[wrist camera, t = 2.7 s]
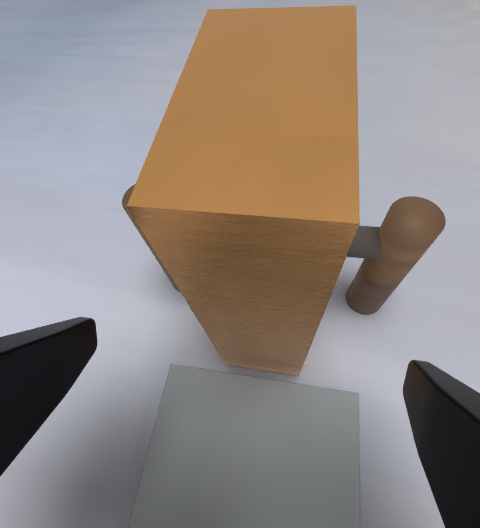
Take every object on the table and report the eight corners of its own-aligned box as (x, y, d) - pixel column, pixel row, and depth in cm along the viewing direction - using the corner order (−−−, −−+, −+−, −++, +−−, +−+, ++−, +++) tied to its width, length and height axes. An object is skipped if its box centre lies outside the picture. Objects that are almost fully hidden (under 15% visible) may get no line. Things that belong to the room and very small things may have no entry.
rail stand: (382, 316, 18) (448, 241, 11) (169, 291, 20) (115, 214, 13) (380, 285, 19) (441, 198, 12) (177, 264, 21) (130, 179, 14)
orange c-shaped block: (298, 376, 17) (359, 223, 5) (226, 364, 18) (126, 205, 6) (306, 263, 21) (356, 5, 8) (245, 257, 21) (207, 9, 9)
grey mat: (357, 677, 12) (361, 689, 11) (112, 606, 14) (106, 613, 13) (356, 394, 17) (358, 393, 16) (173, 366, 18) (170, 363, 18)
